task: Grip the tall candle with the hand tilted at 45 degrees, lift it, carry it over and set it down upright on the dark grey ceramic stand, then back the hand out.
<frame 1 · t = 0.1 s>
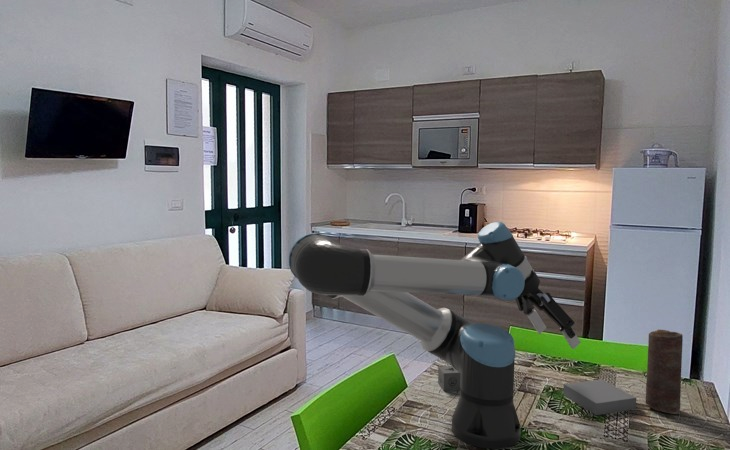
hand: (558, 337, 129), 15 cm above the table, tool tilted 35°, fingers open, 13 cm apart
candle: (661, 410, 121), on the table
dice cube: (449, 387, 135), on the table
stand: (598, 401, 125), on the table
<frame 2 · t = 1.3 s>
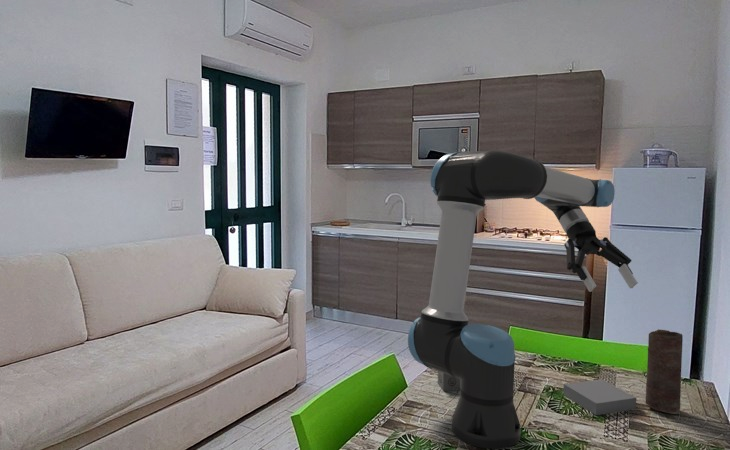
hand: (613, 287, 133), 28 cm above the table, tool tilted 45°, fingers open, 13 cm apart
nothing on the table moved.
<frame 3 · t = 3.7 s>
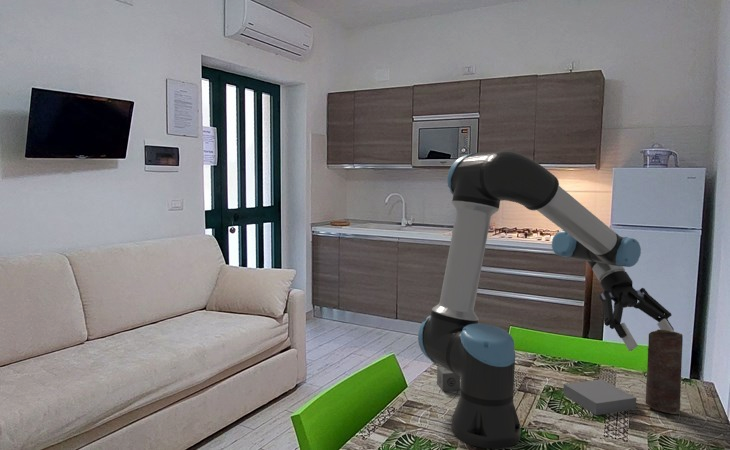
hand: (655, 346, 124), 15 cm above the table, tool tilted 45°, fingers open, 13 cm apart
nothing on the table moved.
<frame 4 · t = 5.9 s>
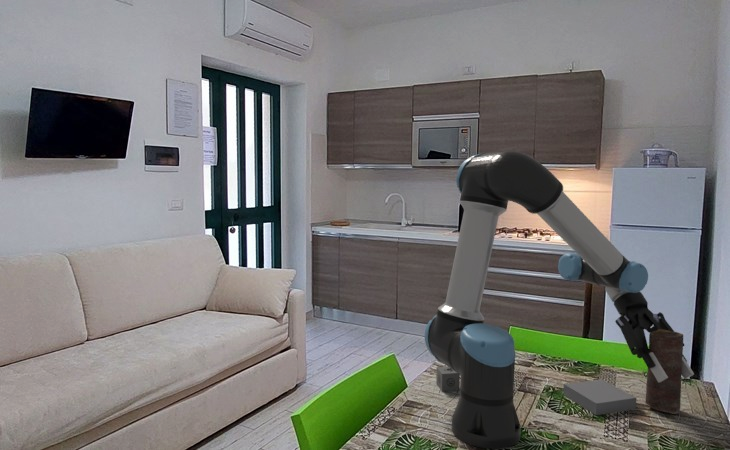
hand: (676, 378, 117), 10 cm above the table, tool tilted 45°, fingers closed on candle, 7 cm apart
candle: (661, 410, 121), on the table, touching gripper
everything else where it was.
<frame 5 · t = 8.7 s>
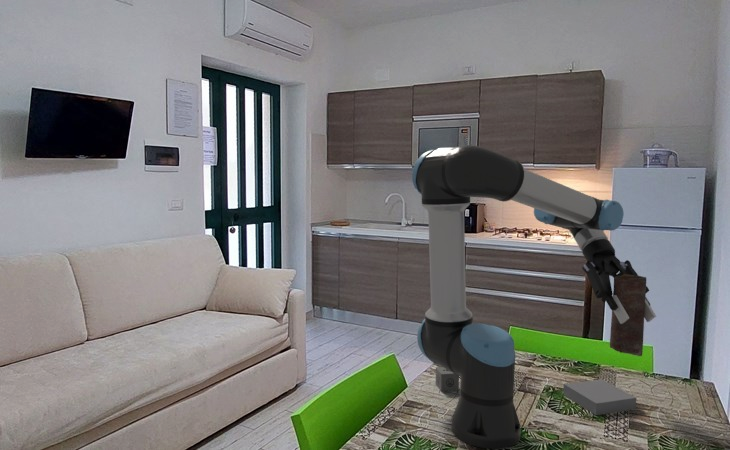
hand: (638, 319, 118), 23 cm above the table, tool tilted 45°, fingers closed on candle, 7 cm apart
candle: (625, 353, 123), point 13 cm above the table, touching gripper
everything else where it was.
when the fingers open (14 cm above the table, at t = 11.9 s): candle drops 1 cm, resting on stand.
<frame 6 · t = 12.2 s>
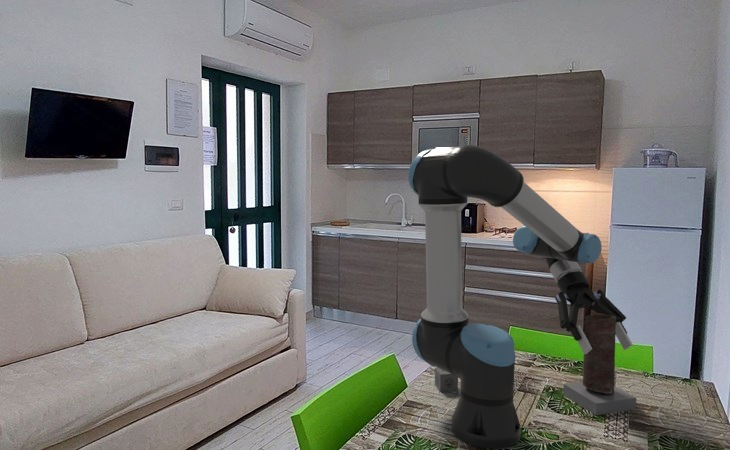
hand: (608, 349, 121), 15 cm above the table, tool tilted 45°, fingers open, 11 cm apart
candle: (597, 391, 125), point 3 cm above the table, touching stand
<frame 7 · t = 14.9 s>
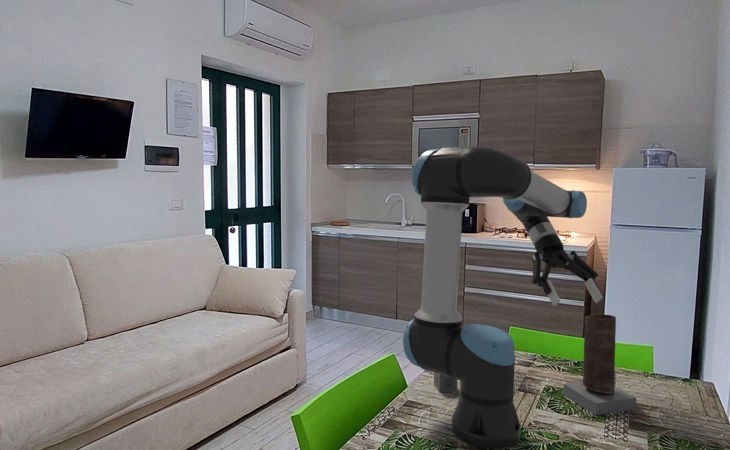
hand: (578, 301, 132), 24 cm above the table, tool tilted 45°, fingers open, 13 cm apart
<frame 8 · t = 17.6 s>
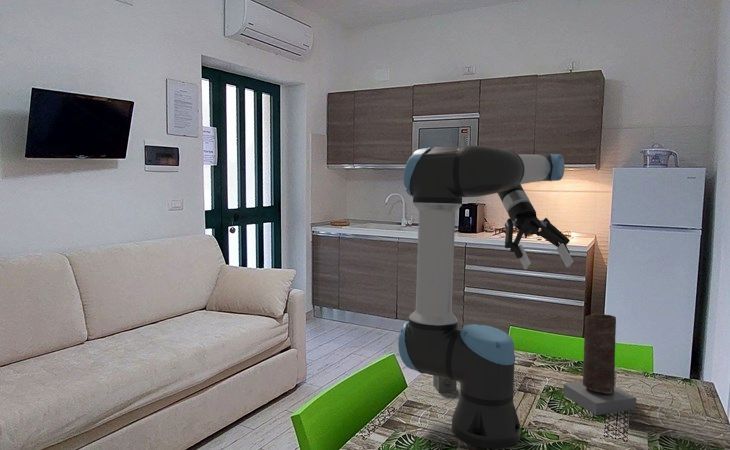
hand: (549, 265, 134), 34 cm above the table, tool tilted 45°, fingers open, 13 cm apart
at the end: candle inside the target area on the stand (0.3 cm from its centre), point 2.8 cm above the stand's base; candle tilted 0°; the gripper is holding nothing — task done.
